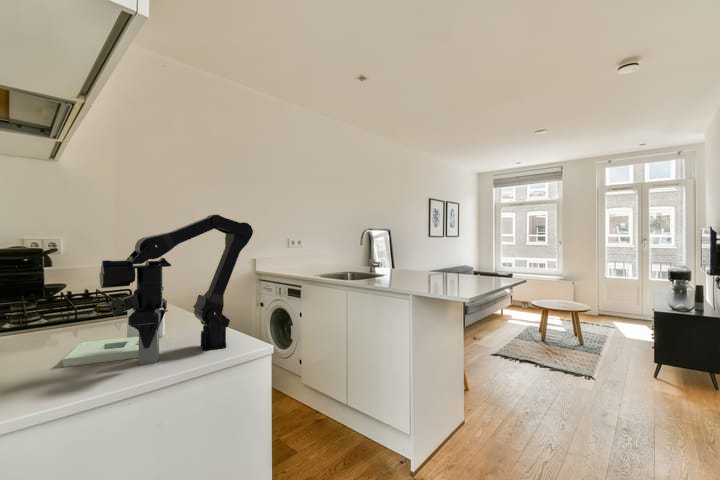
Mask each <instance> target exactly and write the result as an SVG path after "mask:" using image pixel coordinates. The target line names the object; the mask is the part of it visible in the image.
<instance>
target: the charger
mask: <svg viewBox="0 0 720 480" xmlns="http://www.w3.org/2000/svg"><path fill="white" fill-rule="evenodd" d="M159 358H160V337H159V329H157V330H156V332H155V335H154V337H153V340H152V342H151V345H150V347H149V348H146V349H145V348H144V347H143V343H142V340H141V337H140V334H139V358H138V366H142V365H151V364H157V363H158V362H159Z"/></svg>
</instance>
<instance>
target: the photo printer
mask: <svg viewBox="0 0 720 480" xmlns="http://www.w3.org/2000/svg"><path fill="white" fill-rule="evenodd" d="M160 310H164V309H163V308H160ZM134 311H135V310H134ZM134 311H133V308H132V309H130V310H127V314H126V315H127V316H126V317H127V318H126V319H127V320H126V322H127V323H126V324H127V325H126V338H129V337H139V331H138V330H137V329H135V328H134V327H131V326H130V325H128V317H129V316H130V315H131V314H132V313H133V312H134ZM165 319H166V313H165V314H164V316H163V319H162V321H161V323H160V326H159V328H158V329H159V338H161V337H164V336H165V332H166V331H165V330H166V329H165V322H166V320H165Z"/></svg>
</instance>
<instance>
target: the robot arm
mask: <svg viewBox="0 0 720 480" xmlns="http://www.w3.org/2000/svg"><path fill="white" fill-rule="evenodd" d="M212 230H216V231H218V232H220V233H222V234H225V236H224V240H225V241H224V243H225V244H224V245H225V246H224V247H225V248H224V249H223V252H222V255H221V256H220V257H221V258H220V260H219V263H218V265H217V267H216V269H215V272H214V275H213V278H212V280H211V282H210V285H209V287H208V290H207V291H206V292H205V293H204V294H203V295H202V294H198V295H197V298H196V302H195V304H194V305H193V306H192V308H194V310H193V313H194V314H193V315H194V317H195V318H196V319H197V320H198V321H200V323H201V325H202V330H201V331H200V347H201V348H202V351H207V350H209V351H210V350H217V349H224V348H227V328H228V327H229V325H230V322H231V320H230V319H229V318H228V317H227V316H225V315H224V314H223V311H224V307H225V306H224V305H225V303H224V301H225V300H224V299H225V298H224V296H225V293H226V290H227V286H228V284H229V282H230V279H231V276H232V274H233V271H234V269H235V266H236V264H237V261H238V258H239V256H240V254H241V252H242V251H243V249H245V247H246V246H247V245H248V244H249V242H250V240H251V238H252V236H253V235H254V229H253V228H252V225H251V224H249V223H248V222H241V221H240V222H239V221H236V220H233V219H231V218H227V217H224V216H222V215H220V214H209V215H207V216H206V217H204V218H202V219H199V220H197V221H194V222H192V223H189V224H186V225H183V226H181V227H178V228H177V229H174V230H172V231H169V232H164V233H163V232H162V233H159V234H153V235H149V236H146V237H145V236H144V237H142V238H140V239H138V240H137V241H136V243H135V245H134V250H133V251H132V252H131V254H129V256H128V257H127V258H126V259H125V260H124V259H122V260H110V259H109V260H108V259H103V260H101V266H100V272H99V285H100V288H101V289H110V288H111V289H112V288H123V287H129V286H130V285H131V284H133V283H134V282H135V281H136V289H135V290H133V294H131V295H127V296H125V297H121V296H119V297H118V298H113V299H112V300H111V302H110V303H109V304H108V306H109V308H108V310H109V312H111V313H112V315H113V317H114V316H118V315H120V314H121V313H124V312H126V311H127V312H128V310H130V309H132V308H133V311H134V310H135V311H134V312H133V313H132V314H131V315H130V316H129V317H128V325H130V326H131V327H134V328H135V329H137V330H138V331H139V334H140V337H141V340H142V343H143V347H144V348H145V349H146V348H149V347H150V345H151V342H152V340H153V337H154V335H155V332H156V330H157V329H158V328H159V326H160V323H161V321H162V319H163V316H164V314H165V315H166V312H167V308H168V301H167V300H166V299H165V298H163V291H164V285H163V268H166V267H168V268H169V267H172V264H171V263H170V262H169V261H168V260H166V257H165V258H164V257H162V256H164V255H166V254H167V253H169V252H170V251H171V250H173V249H174V248H175V247H177V246H178V245H179V244H182V243H184V242H187V241H190V240H191V239H193V238H196V237H198V236H200V235H203V234H205V233H208V232H211V231H212ZM156 259H159V260H156ZM144 263H145V264H144ZM160 308H163V309H164V310H160Z"/></svg>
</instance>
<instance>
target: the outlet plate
mask: <svg viewBox="0 0 720 480" xmlns="http://www.w3.org/2000/svg"><path fill="white" fill-rule="evenodd" d="M129 359H131V360H132V359H139V337H129V338H127V337H120V338H112V339H109V338H108V339H101V340H100V339H99V340H90V341H83V342H81V343H80V344H79V345H77V346H76V347H75V348H74V349H73V350H72V351H71V352H70V353H68V354H67V355H66V356H65V357H64V358H63V359H62V367H63V368H65V367H73V366H81V365H90V364H98V363H107V362H113V361H121V360H129Z"/></svg>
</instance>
